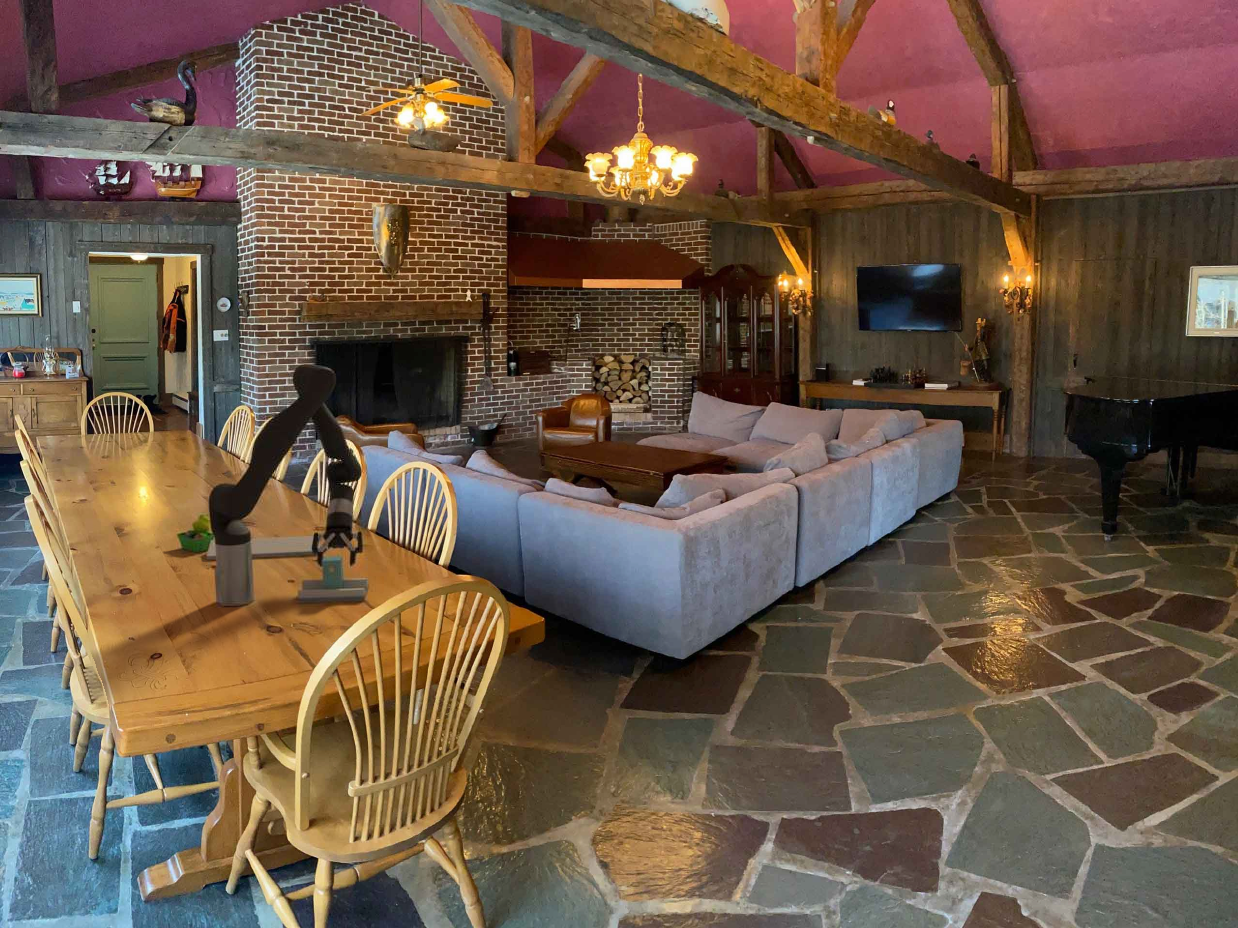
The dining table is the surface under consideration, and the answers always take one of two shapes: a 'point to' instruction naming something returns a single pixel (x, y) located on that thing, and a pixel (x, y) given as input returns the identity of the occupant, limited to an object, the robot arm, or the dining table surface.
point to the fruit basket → (197, 535)
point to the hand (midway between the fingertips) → (336, 565)
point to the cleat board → (333, 591)
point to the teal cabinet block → (332, 572)
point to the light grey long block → (274, 547)
